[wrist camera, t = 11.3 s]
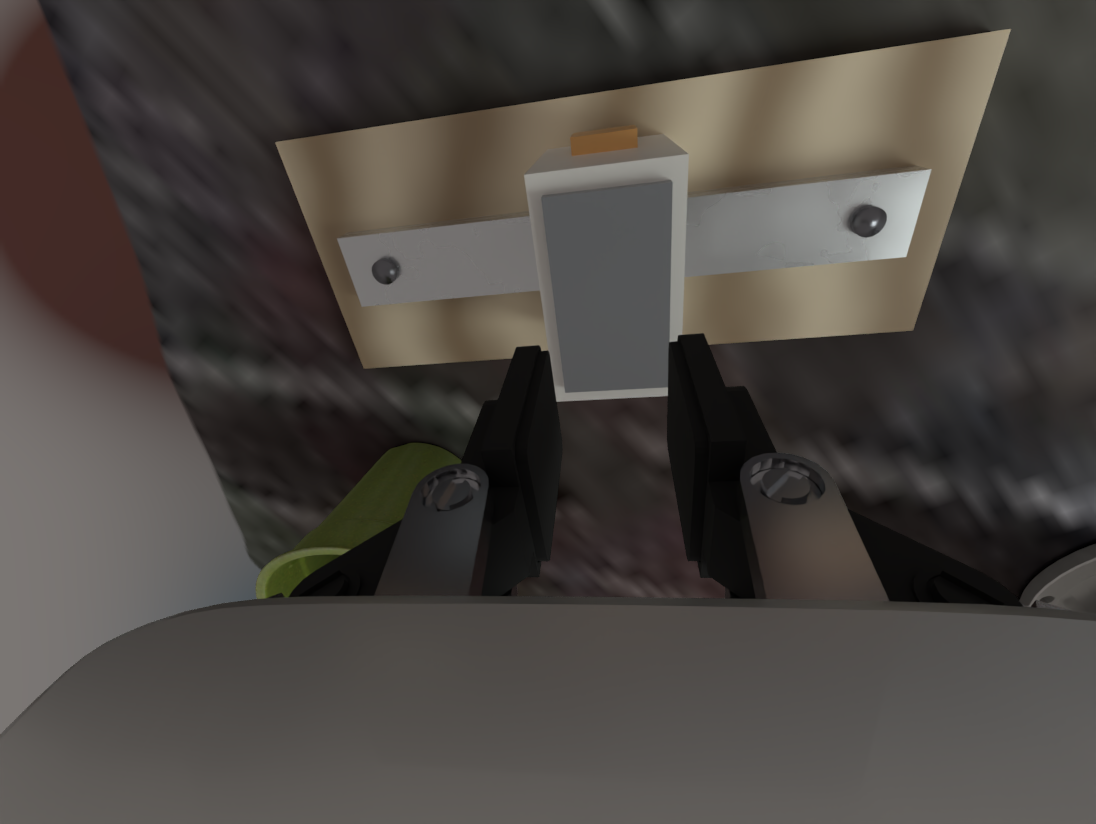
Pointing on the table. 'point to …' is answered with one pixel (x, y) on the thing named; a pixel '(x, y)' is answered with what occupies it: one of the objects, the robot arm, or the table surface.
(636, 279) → the box
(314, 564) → the plant pot
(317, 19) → the table surface
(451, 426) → the table surface
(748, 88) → the rail board
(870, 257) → the rail
